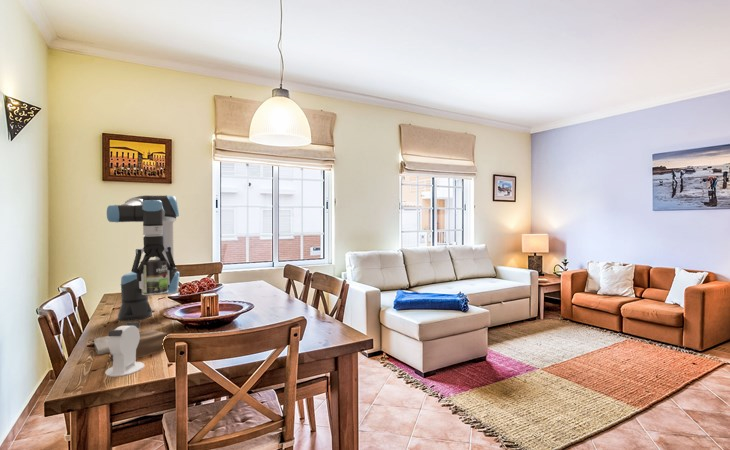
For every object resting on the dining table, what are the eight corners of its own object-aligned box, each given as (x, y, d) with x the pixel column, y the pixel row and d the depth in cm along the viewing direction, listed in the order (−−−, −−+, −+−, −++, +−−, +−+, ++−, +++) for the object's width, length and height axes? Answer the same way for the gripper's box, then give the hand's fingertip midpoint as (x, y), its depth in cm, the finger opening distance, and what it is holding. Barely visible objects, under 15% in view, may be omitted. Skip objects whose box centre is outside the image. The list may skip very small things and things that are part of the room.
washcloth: (126, 338, 162) (126, 330, 162) (134, 349, 149) (133, 341, 149) (92, 344, 155) (92, 337, 155) (97, 356, 141) (97, 348, 141)
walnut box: (120, 352, 145) (119, 336, 145) (151, 343, 155) (151, 328, 155) (136, 358, 138) (135, 342, 138) (167, 348, 148) (167, 333, 148)
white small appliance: (120, 362, 135) (119, 321, 134) (152, 361, 135) (150, 320, 134) (97, 376, 123) (95, 331, 122) (131, 376, 123) (130, 331, 122)
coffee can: (173, 290, 167) (172, 259, 166) (156, 295, 157) (155, 262, 156) (153, 290, 169) (152, 259, 168) (135, 295, 159) (134, 262, 158)
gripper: (128, 237, 151) (130, 292, 151) (183, 234, 169) (184, 283, 170) (120, 236, 155) (122, 290, 156) (175, 234, 173) (176, 281, 174)
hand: (154, 286), depth 163 cm, fingers closed on coffee can, 10 cm apart
